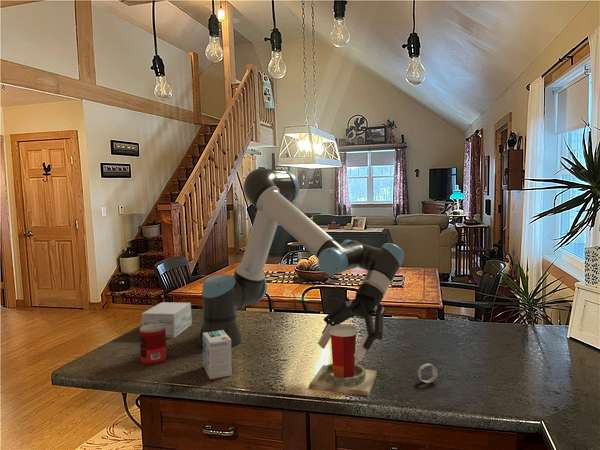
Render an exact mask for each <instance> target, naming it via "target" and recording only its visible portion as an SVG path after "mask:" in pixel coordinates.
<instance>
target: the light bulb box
mask: <svg viewBox="0 0 600 450" xmlns="http://www.w3.org/2000/svg"><path fill="white" fill-rule="evenodd" d="M202 335H203V347H202V362H203V363H202V364H203V365H202V367H203V368H204V371H205V372H206V374H207V377H208V378H209V380H213V379H220V378H225V377H230V376H232V375H233V371H232V370H233V369H232V365H233V363H232V347H231V339H230V338H229V336H228V335H227V334H226V333H225V332H224V331H223V330H219V331H213V332H206V333H202Z"/></svg>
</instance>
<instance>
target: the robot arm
mask: <svg viewBox="0 0 600 450" xmlns="http://www.w3.org/2000/svg"><path fill="white" fill-rule="evenodd" d="M243 192H244V195H245V196H246V198H247V200H248V201H249V203H251V205H252V206H254V207H255V208H256V209H257V211H256V213H255V218H254V220H253V223H252V227H251V230H250V232H249V233H250V234H249V238H248V240H247V243H246V246H245V250H244V254H243V255H242V260H241V263H240V264H239V265H237V266H236V267H235V269H234V272H233V273H234V274H233V275H232V274H227V273H226V274H225V273H224V274H218V275H217V274H216V275H213V276H209V277H208V278H206V279H205V280H204V281H203V282H202V290H201V298H202V324H201V325H202V326H201V329H200V332H199V335H198V344H199V346H200V347H202V348H203V335H202V333H206V332H213V331H219V330H223V331H224V332H225V333H226V334H227V335H228V336H229V338H230V339H231V348H232V347H235V346H237V345H240V343H241V342H242V339H243V338H242V333H241V328H240V326H239V324H238V320H237V309H239V308H243V307H246V306H249V305H254V304H257V302H260V301H261V300H262V299H264V297H265V295H266V294H267V291H268V284H267V283H266V282H267V280H266V274H265V272H264V269H265V265H266V262H267V260H268V256H269V253H270V250H271V246H272V243H273V240H274V237H275V234H276V231H277V229H278V228H277V227H278V225H279V226H281V227H282V228H283V229H284V231H286V232H288V233H289V234H290V235H291V236H292V238H294V239H295V240H297V241H298V243H300V245H302V246H304V247H305V249H306V250H308V251H309V252H310V253H311V254H313V256H315V257H316V259H317V263H318V266H319V269H320V270H321V271H322V272H324V273H325V274H326V275H336V274H341V273H344V272H347V271H349V270H353V269H356V268H359V269H363V270H366V271H367V273H366V275H365V276H364V278H363V280H362V281H361V283H360V285H359V287H358V288H357V289H356V292H355V298H354V299H349V297H348V296H346V297H345V298H344V299H343V300H342V302H341V303H340V304H339V305H337V306H336V307H335V308H333V309H332V311H331V312H329V313H328V314H327V315H326V316H325V317H324V318H323V321H324V322H325V324H326V325H325V327H324V329H323V330H322V332H321V334H322V335H321V336H320V338H319V340H318V342H317V345H319V346H320V348H321V349H325V348H326V346H327V344H328V343H329V341H330V340H331V334H330V333H329V331H330V329H331V328H332V326H334V325H338V324H343V323H344V322H345V321H348V320H349V319H352V318H355V317H356V318H360V319H363V320H364V322H365V327H366V331H367V333H366V334H364V336H363V337H362V339H361V341H360V342H359V344H358V346H357V348H356V349H355V354H354V357H355V360H357V361H358V362H361V361H362V359H363V358H364V356H365V354H366V352H367V351H369V350H370V348H371V346H372V345H373V344H374V343H373V342H374V341H376V340H379V341H381V340H382V339H383V338H384V337H383V336H384V334H383V333H384V316H385V313H386V309H385V307H384V306H383V305H382V303H381V302H382V301H383V298H384V296H385V295H386V293H387V291H388V289H389V288H390V285H391V284H392V281H393V280H394V278H395V276H396V275H397V273H398V271H399V269H400V268H401V265H402V263H403V260H404V259H405V253H404V251H403V249H402V248H400V247H399V246H398V245H396V244H394V243H390V242H389V243H387V242H386V243H384V244H382V246H381V247H380V248H379V247H375V246H371V245H368V244H365V243H362V242H359V241H357V240H352V239H344V240H343V242H340V243H339V242H337V241H336V240H335V239H334V238H333V237H332V236H331V235H329V234H328V233H327V232H326V231H325V230H323V229H322V228H321V227H320V226H319V225H318V224H317V223H315V222H314V221H313V220H312V219H311V218H309V216H307V215H306V214H305V213H304V212H302V210H300V209H299V208H298V207H297V206H295V205H294V204H293V203H292V202H293V201H294V200H296V199H297V197H298V195H299V192H300V184H299V181H298V178H297V176H296V175H295V174H294V173H292V172H291V171H289V170H285V169H282V168H277V169H276V168H262V167H259V168H256V169H253V170H252V171H250V172H249V173H248V174H247V175H246V177H245V178H244V182H243ZM374 313H375V314H374ZM372 314H374V315H375V316H374V317H375V318H374V322H373V315H372Z"/></svg>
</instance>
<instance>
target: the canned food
mask: <svg viewBox="0 0 600 450" xmlns="http://www.w3.org/2000/svg"><path fill="white" fill-rule="evenodd" d="M139 351H140V361H141V364H143V365H147V366H150V365H151V366H152V365H153V366H154V365H157V364H161V363H163V362H164V361H166V360H167V337H166V330H165V325H164V324H148V325H144V326H141V327H139Z"/></svg>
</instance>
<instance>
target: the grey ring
mask: <svg viewBox="0 0 600 450" xmlns="http://www.w3.org/2000/svg"><path fill="white" fill-rule="evenodd" d="M427 367H431V372H432V377H431V378H429V379H427V380H425V379H422V375H423V374H422V370H424V369H425V368H427ZM417 369H418V370H417V377H418V379H419V380H420V381H421V382H423V383H425V384H431V383H433V382H434V381H435V380H436V378H438V370H437V368H436V367H435V366H434V365H433V364H431V363H424V364H422V365H421V366H419V368H417Z"/></svg>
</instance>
